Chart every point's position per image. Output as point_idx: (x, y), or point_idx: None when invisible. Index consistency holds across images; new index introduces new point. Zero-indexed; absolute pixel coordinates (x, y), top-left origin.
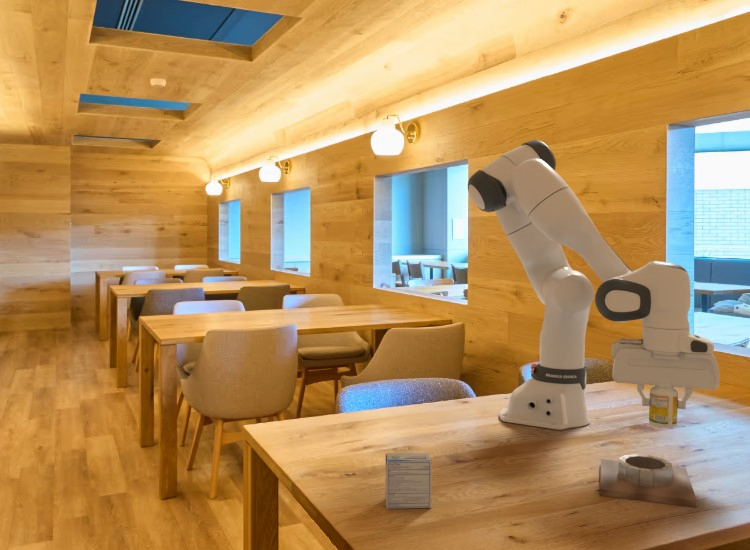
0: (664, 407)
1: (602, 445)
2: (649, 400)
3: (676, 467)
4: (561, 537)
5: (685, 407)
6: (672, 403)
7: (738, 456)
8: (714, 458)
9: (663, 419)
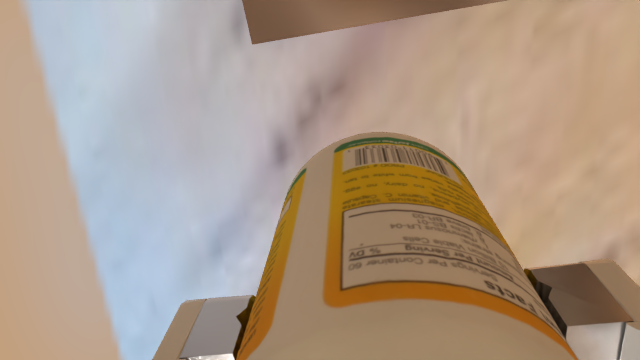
0: (374, 204)
1: (606, 257)
2: (559, 306)
3: (292, 31)
4: None
5: (180, 307)
6: (287, 271)
7: (129, 330)
8: (191, 281)
9: (372, 150)
